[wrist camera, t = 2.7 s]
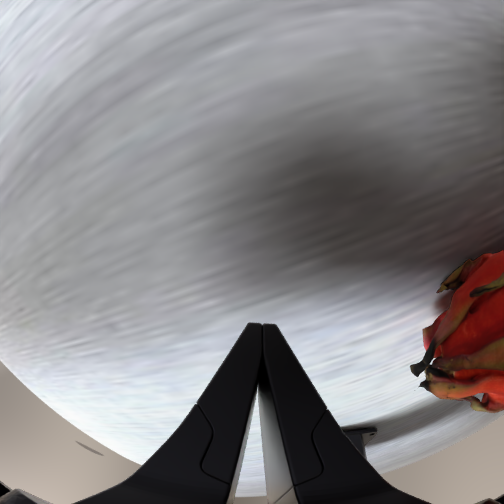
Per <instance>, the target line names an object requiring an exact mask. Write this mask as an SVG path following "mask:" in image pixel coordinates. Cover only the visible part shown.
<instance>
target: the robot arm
mask: <svg viewBox="0 0 504 504" xmlns="http://www.w3.org/2000/svg"><path fill="white" fill-rule="evenodd" d="M257 388H258V402H259V413H260V425H261V436H262V447H263V458H264V469H265V479H266V490H267V500H268V504H431V503H429V502H426V501H424V500H421V499H419V498H416V497H414V496H412V495H409V494H407V493H405V492H402V491H400V490H398V489H397V488H395V487H393V486H392V485H390V484H389V483H388V482H387V481H385V480H384V479H383V478H382V477H381V476H380V475H379V473H378V472H377V471H376V470H375V469H374V468H373V467H372V466H371V464H370V463H369V462H368V461H367V457H366V452H365V445H366V444H367V443H368V442H369V441H370V440H371V439H372V438H373V437H374V436H375V435H376V434H377V433H378V431H377V428H371V429H364V430H356V431H347V432H343V431H342V429H341V428H340V426H339V425H338V423H337V422H336V420H335V419H334V417H333V416H332V414H331V412H330V411H329V410H328V409H327V406H326V405H325V403H324V401H323V400H322V398H321V397H320V395H319V393H318V392H317V390H316V389H315V387H314V385H313V384H312V382H311V380H310V379H309V377H308V376H307V374H306V372H305V371H304V369H303V367H302V366H301V364H300V363H299V361H298V359H297V358H296V356H295V354H294V353H293V351H292V349H291V348H290V346H289V345H288V343H287V341H286V340H285V338H284V336H283V335H282V333H281V331H280V330H279V328H278V326H277V325H276V324H266V323H264V324H263V325H262V324H261V323H248V324H247V325H246V327H245V329H244V330H243V332H242V333H241V335H240V336H239V338H238V340H237V341H236V343H235V344H234V346H233V347H232V349H231V351H230V352H229V354H228V355H227V357H226V358H225V360H224V361H223V363H222V364H221V366H220V368H219V369H218V371H217V372H216V374H215V375H214V377H213V378H212V380H211V381H210V383H209V384H208V386H207V387H206V389H205V390H204V392H203V393H202V395H201V396H200V398H199V399H198V401H197V404H195V405H194V406H193V408H192V409H191V411H190V412H189V414H188V415H187V416H186V418H185V419H184V420H183V422H182V423H181V424H180V426H179V427H178V428H177V429H176V431H175V432H174V433H173V434H172V435H171V436H170V437H169V439H168V440H167V441H166V442H165V443H164V444H163V445H162V446H161V447H160V448H159V449H158V450H157V451H156V452H155V453H154V454H153V455H152V456H151V457H150V458H149V459H148V460H147V461H146V462H145V463H144V464H143V465H142V466H141V467H140V468H139V469H138V470H137V471H136V472H135V473H134V474H132V475H131V476H130V477H129V478H127V479H126V480H124V481H123V482H121V483H119V484H118V485H115V486H113V487H111V488H109V489H107V490H105V491H102V492H100V493H98V494H96V495H93V496H90V497H88V498H86V499H83V500H80V501H78V502H75V503H73V504H233V501H234V497H235V493H236V489H237V484H238V480H239V476H240V471H241V467H242V462H243V458H244V453H245V448H246V444H247V439H248V434H249V429H250V425H251V420H252V415H253V410H254V405H255V400H256V394H257ZM326 409H327V410H326ZM0 504H52V503H49V502H47V501H45V500H42V499H40V498H38V497H36V496H34V495H32V494H29V493H27V492H25V491H23V490H20V489H14V490H12V489H10V488H9V487H8V486H6V485H5V484H4V483H2V482H1V481H0ZM475 504H504V494H503V495H501V496H499V497H498V498H496V499H494V500H493V499H490V498H488V499H485V500H482V501H480V502H478V503H475Z"/></svg>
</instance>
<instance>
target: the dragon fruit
mask: <svg viewBox="0 0 504 504" xmlns="http://www.w3.org/2000/svg"><path fill="white" fill-rule="evenodd" d="M449 289H451V290H454V289H457V290H456V291H455V293H454V294H453V297H452V301H451V304H450V307H449V310H447V311H445V312H444V313H442V314H441V315H440V316H439V317H438V318H437V319H436V320H435V321H434V323H433V324H432V325H431V326H429V327H426V328H424V329H423V342H424V347H425V349H426V353H425V356H424V358H423V360H422V361H421V362H419V363H417V364H413V365H410V368H411V372H412V373H413V374H414V375H415V376H417V377H418V376H419V374H420V373H422V372H423V371H424V370H425V374H426V376H425V377H426V380H425V381H423V382H421V383H420V386H419V387H424V388H425V389H426V390H427V391H429V392H431V393H433V394H434V395H435V396H436V397H438V398H440V399H450V400H454V399H455V400H458V401H465V400H466V401H469V402H471V405H470V406H471V408H472V409H473V410H475V411H483V412H489V413H497V412H499V411H502V410H504V250H502V251H500V252H498V253H494V254H492V253H487V254H483V255H481V256H480V257H478V258H477V259H475V260H474V261H472V260H471V259H468V260H467V261H466V262H464V264H463V265H462V266H460V267H459V268H458V269H456V270H455V271H454V272H453V273H452V274H451V275H450V276H449V277H448V279H447V280H446V281H445V282H443V283H442V285H441V287H440V288H439V289H438V291H437V292H436V293H439V292H442V291H443V290H449ZM433 358H436V359H435V360H434V361H433V363H432V365H430V362H431V361H432V359H433ZM414 391H416V390H414ZM477 393H484V395H483V398H482V401H481V402H480V400H479V399H478V398H476V397H473V395H476V394H477Z"/></svg>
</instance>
